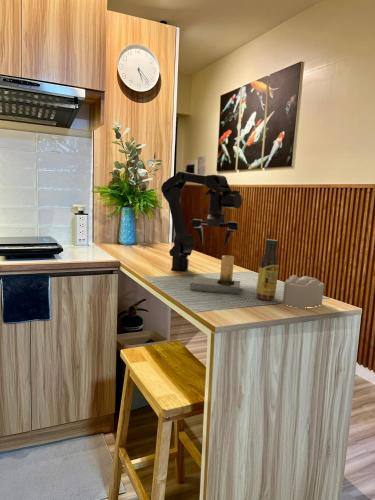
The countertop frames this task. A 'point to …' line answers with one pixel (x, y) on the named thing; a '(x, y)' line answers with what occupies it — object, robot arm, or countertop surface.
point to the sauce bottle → (268, 272)
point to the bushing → (226, 269)
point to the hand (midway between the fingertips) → (213, 245)
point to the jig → (214, 285)
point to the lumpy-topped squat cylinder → (303, 292)
